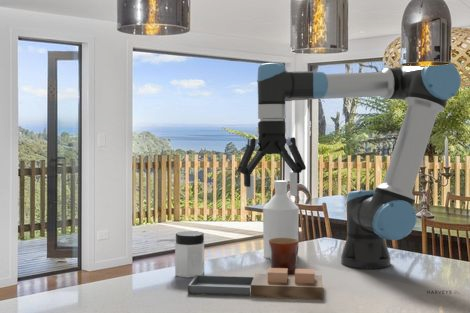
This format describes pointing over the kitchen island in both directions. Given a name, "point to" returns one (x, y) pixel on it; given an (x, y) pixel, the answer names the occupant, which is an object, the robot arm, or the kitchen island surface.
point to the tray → (220, 285)
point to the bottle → (279, 217)
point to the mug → (284, 253)
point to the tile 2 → (304, 276)
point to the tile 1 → (278, 275)
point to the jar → (189, 254)
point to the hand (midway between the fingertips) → (272, 197)
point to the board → (286, 288)
